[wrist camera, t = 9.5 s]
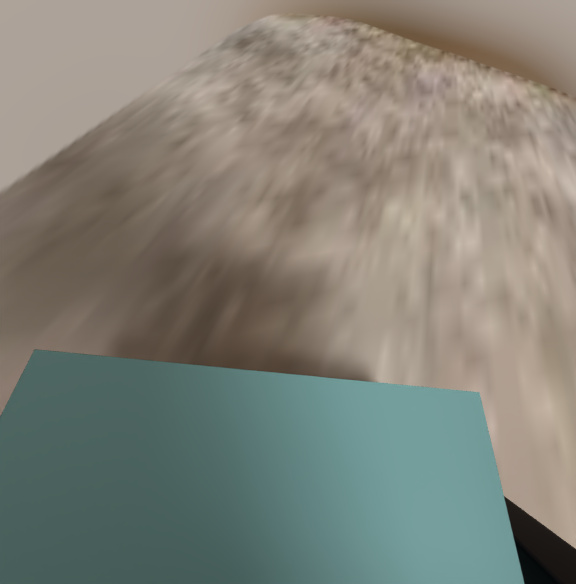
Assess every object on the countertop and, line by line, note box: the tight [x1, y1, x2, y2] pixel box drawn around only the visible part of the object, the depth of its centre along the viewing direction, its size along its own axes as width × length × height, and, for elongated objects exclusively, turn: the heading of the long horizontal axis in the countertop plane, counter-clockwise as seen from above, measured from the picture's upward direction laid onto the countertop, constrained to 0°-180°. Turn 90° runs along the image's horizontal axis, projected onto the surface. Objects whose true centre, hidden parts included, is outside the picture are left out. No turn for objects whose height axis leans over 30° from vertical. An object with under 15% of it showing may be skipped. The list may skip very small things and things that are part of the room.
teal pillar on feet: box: [0, 349, 524, 584], centre depth 8 cm, size 4×6×13 cm
